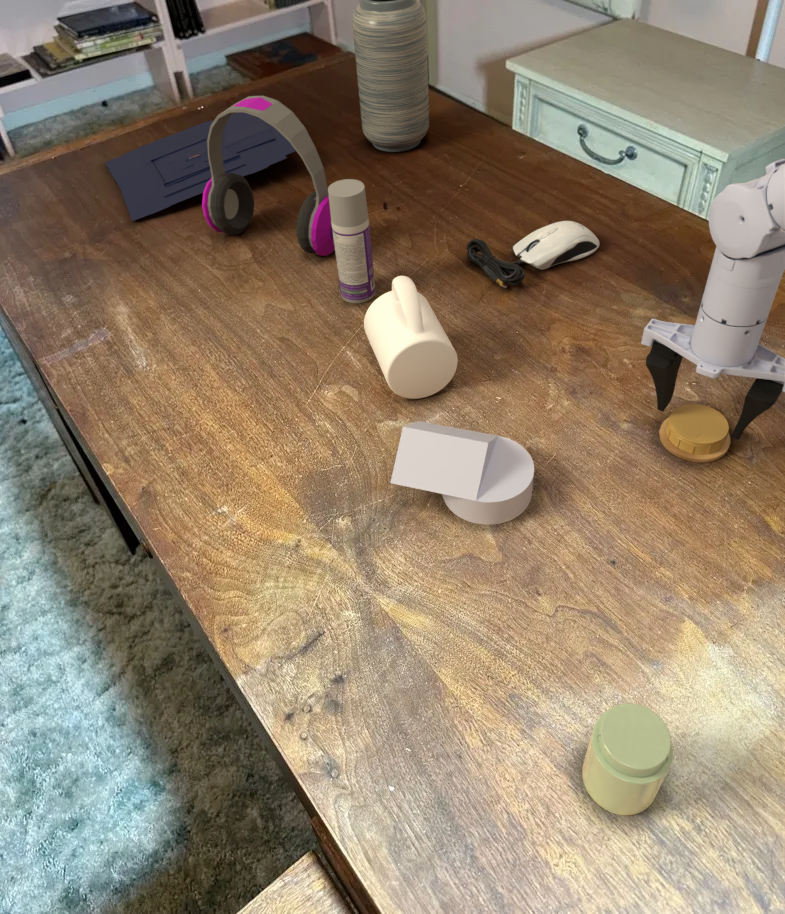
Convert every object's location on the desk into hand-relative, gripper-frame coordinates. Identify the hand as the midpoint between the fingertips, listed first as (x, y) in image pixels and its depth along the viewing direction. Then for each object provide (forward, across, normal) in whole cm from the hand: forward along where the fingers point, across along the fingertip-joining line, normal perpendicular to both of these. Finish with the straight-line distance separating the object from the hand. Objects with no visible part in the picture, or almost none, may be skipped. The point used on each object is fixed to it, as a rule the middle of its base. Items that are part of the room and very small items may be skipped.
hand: (700, 418), depth 78 cm
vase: (+3, -70, +43) cm, 82 cm away
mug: (+3, -32, -7) cm, 32 cm away
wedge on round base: (+3, -16, -18) cm, 25 cm away
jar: (+3, +8, -37) cm, 38 cm away
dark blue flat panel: (+3, -92, +19) cm, 94 cm away
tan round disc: (+3, 0, 0) cm, 3 cm away
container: (+3, -47, +3) cm, 47 cm away
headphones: (+3, -66, +8) cm, 66 cm away
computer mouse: (+3, -30, +22) cm, 38 cm away
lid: (+1, 0, 0) cm, 1 cm away
